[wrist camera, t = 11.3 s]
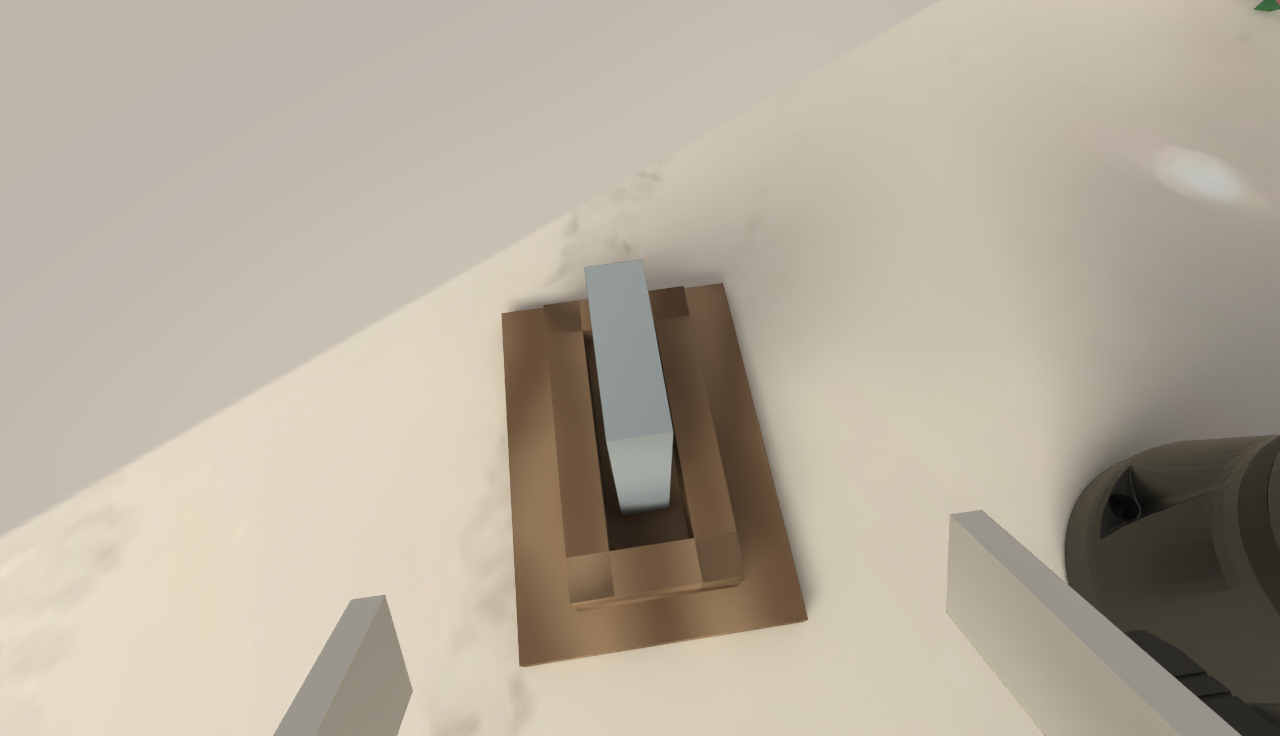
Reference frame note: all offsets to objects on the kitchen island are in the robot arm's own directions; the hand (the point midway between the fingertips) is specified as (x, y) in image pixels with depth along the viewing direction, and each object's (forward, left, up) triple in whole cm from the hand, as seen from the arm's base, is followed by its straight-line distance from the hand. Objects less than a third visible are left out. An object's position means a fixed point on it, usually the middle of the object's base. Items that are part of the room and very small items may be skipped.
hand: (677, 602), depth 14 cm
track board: (0, -10, -18) cm, 21 cm away
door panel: (0, -11, -17) cm, 20 cm away
